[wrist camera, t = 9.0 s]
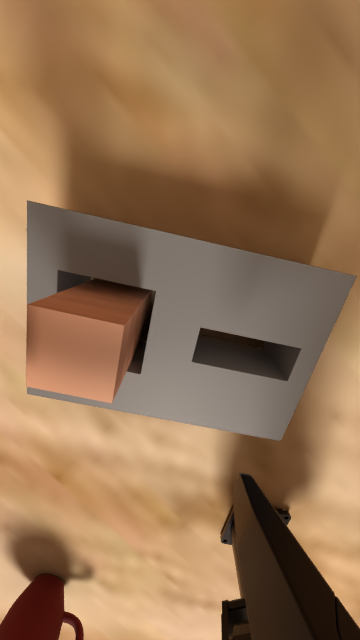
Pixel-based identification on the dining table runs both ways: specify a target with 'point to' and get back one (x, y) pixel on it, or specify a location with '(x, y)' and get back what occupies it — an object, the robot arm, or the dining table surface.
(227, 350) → the socket board
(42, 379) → the peg
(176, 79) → the dining table surface
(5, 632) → the mug
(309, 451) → the dining table surface
